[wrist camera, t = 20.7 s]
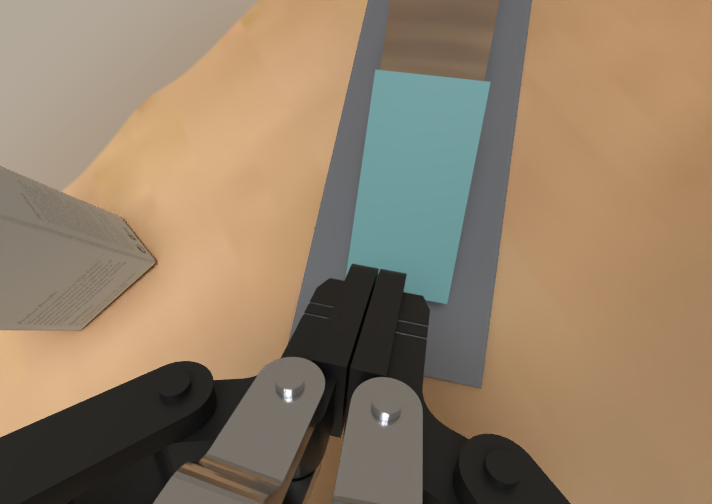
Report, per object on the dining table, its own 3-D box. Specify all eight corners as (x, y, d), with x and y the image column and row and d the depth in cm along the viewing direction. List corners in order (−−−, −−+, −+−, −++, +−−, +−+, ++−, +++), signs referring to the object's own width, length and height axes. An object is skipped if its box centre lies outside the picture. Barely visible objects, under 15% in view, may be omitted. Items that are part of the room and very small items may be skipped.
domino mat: (478, 387, 20) (481, 388, 20) (290, 346, 22) (287, 346, 21) (534, -33, 25) (537, -40, 25) (380, -43, 27) (379, -50, 26)
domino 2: (447, 304, 19) (490, 81, 17) (344, 284, 20) (375, 69, 18) (445, 292, 21) (484, 92, 19) (351, 275, 22) (380, 80, 20)
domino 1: (460, 202, 20) (503, -18, 18) (363, 187, 21) (393, -26, 19) (457, 201, 22) (495, 1, 20) (368, 187, 23) (396, -6, 21)
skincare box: (121, 214, 24) (-134, 93, 13) (162, 265, 23) (-74, 184, 12) (41, 284, 24) (-301, 224, 12) (80, 340, 23) (-254, 333, 11)
